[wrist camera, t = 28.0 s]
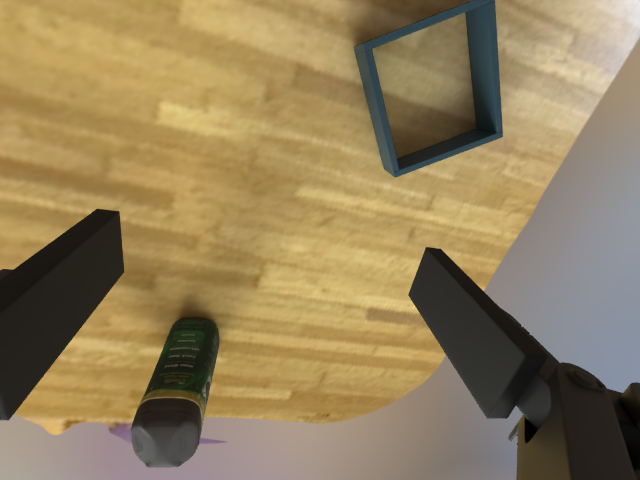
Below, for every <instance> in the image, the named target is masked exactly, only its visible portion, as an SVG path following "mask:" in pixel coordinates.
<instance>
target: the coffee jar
mask: <svg viewBox="0 0 640 480" xmlns="http://www.w3.org/2000/svg"><path fill="white" fill-rule="evenodd" d="M218 348H219V332H218V328H217V326H216V325H215V324H214V323H213V322H211V321H209V320H205V319H199V318H187V319H182V320H179V321H177V322H175V323H174V324H173V326H172V328H171V330H170V332H169V335H168V337H167V340H166V342H165V345H164V348H163V350H162V353H161V355H160V358H159V360H158V363H157V365H156V368H155V370H154V373H153V375H152V378H151V380H150V383H149V385H148V387H147V390H146V392H145V394H144V396H143V398H142V400H141V402H140V404H139V406H138V409H137V412H136V415H135V418H134V421H133V423H132V427H131V439H132V445H133V448H134V452H135V454H136V456H137V457H138V458H139V459H140V460H141V461H142V462H143V463H145V464H146V466H147V467H156V468H157V467H158V468H159V467H179V466H180V465H182V464H183V463H184V462H186V461H187V460H189V459H190V458H191V457H192V456H193V454H194V453H195V451H196V449H197V446H198V445H199V439H200V434H201V430H202V425H203V420H204V414H205V409H206V405H207V400H208V395H209V390H210V386H211V381H212V376H213V372H214V368H215V363H216V358H217V353H218Z"/></svg>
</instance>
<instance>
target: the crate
mask: <svg viewBox="0 0 640 480" xmlns="http://www.w3.org/2000/svg"><path fill="white" fill-rule="evenodd" d="M464 12H465V14H466V25H467V35H468V45H469V55H470V66H471V76H472V86H473V97H474V107H475V117H476V127H477V129H474V130H472V131H469V132H467V133H464V134H461V135H459V136H456V137H453V138H451V139H448V140H445V141H443V142H440V143H437V144H435V145H432V146H430V147H427V148H424V149H422V150H419V151H416V152H414V153H411V154H408V155H406V156H403V157H401V158H398V159H397V158H396V153H395V149H394V145H393V140H392V136H391V131H390V127H389V122H388V118H387V114H386V109H385V105H384V100H383V96H382V91H381V87H380V82H379V78H378V74H377V69H376V65H375V60H374V56H373V51H372V49H373V48H375V47H378V46H380V45H383V44H385V43H388V42H390V41H393V40H396V39H398V38H401V37H403V36H406V35H408V34H411V33H413V32H416V31H418V30H421V29H424V28H426V27H429V26H431V25H434V24H436V23H439V22H441V21H444V20H446V19H449V18H452V17H454V16H457V15H459V14H462V13H464ZM354 51H355V54H356V59H357V63H358V67H359V71H360V75H361V79H362V83H363V87H364V91H365V95H366V99H367V103H368V107H369V111H370V115H371V119H372V123H373V127H374V131H375V135H376V139H377V143H378V147H379V151H380V155H381V159H382V163H383V167H384V169H385V170H386V171H387V172H388V173H390V174H391V175H392V176H393V177H398V176H400V175H403V174H406V173H408V172H411V171H414V170H416V169H419V168H422V167H424V166H427V165H430V164H432V163H435V162H438V161H440V160H443V159H446V158H448V157H451V156H454V155H456V154H459V153H462V152H464V151H467V150H469V149H472V148H475V147H477V146H480V145H483V144H485V143H488V142H491V141H493V140H496V139H499V138H501V137H503V132H502V131H503V129H502V113H501V96H500V79H499V62H498V45H497V28H496V11H495V1H494V0H472V1H469V2H466V3H464V4H461V5H459V6H456V7H454V8H451V9H449V10H446V11H444V12H441V13H438V14H436V15H433V16H431V17H428V18H426V19H423V20H421V21H418V22H416V23H413V24H411V25H408V26H405V27H403V28H400V29H398V30H395V31H393V32H390V33H388V34H385V35H383V36H380V37H377V38H375V39H372V40H370V41H367V42H365V43H362V44H360V45H358V46H355V47H354Z"/></svg>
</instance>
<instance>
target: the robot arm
mask: <svg viewBox="0 0 640 480" xmlns="http://www.w3.org/2000/svg"><path fill="white" fill-rule="evenodd" d="M123 273H124V262H123V250H122V238H121V226H120V214H119V211H111V210H103V209H96V210H95V211H94V212H92V213H91V214H89V215H88V216H87V217H85V218H84V219H83V220H81V221H80V222H78V223H77V224H76V225H74V226H73V227H72V228H70V229H69V230H67V231H66V232H65V233H63V234H62V235H61V236H59V237H58V238H56V239H55V240H54V241H52V242H51V243H50V244H48V245H47V246H45V247H44V248H43V249H41V250H40V251H39V252H37V253H36V254H34V255H33V256H32V257H30V258H29V259H28V260H26V261H25V262H23V263H22V264H21V265H19V266H18V267H17V268H15V269H14V270H10V269H2V270H0V420H9V419H10V418H11V417H12V415H13V414H14V413H15V412H16V410H17V409H18V408H19V406H20V405H21V404H22V403H23V401H24V400H25V399H26V397H27V396H28V395H29V394H30V392H31V391H32V390H33V388H34V387H35V386H36V385H37V383H38V382H39V381H40V379H41V378H42V377H43V376H44V374H45V373H46V372H47V370H48V369H49V368H50V367H51V365H52V364H53V363H54V361H55V360H56V359H57V358H58V356H59V355H60V354H61V352H62V351H63V350H64V349H65V347H66V346H67V345H68V343H69V342H70V341H71V340H72V338H73V337H74V336H75V334H76V333H77V332H78V331H79V329H80V328H81V327H82V325H83V324H84V323H85V322H86V320H87V319H88V318H89V316H90V315H91V314H92V313H93V311H94V310H95V309H96V307H97V306H98V305H99V304H100V302H101V301H102V300H103V298H104V297H105V296H106V295H107V293H108V292H109V291H110V289H111V288H112V287H113V286H114V284H115V283H116V282H117V280H118V279H119V278H120V277H121V275H122V274H123ZM409 297H410V298H411V300H412V302H413V303H414V305H415V306H416V308H417V309H418V311H419V313H420V314H421V316H422V317H423V319H424V320H425V322H426V324H427V325H428V327H429V328H430V330H431V331H432V333H433V335H434V336H435V338H436V339H437V341H438V342H439V344H440V345H441V347H442V349H443V350H444V352H445V353H446V355H447V356H448V358H449V359H450V361H451V363H452V364H453V366H454V367H455V369H456V370H457V372H458V374H459V375H460V377H461V378H462V380H463V382H464V383H465V385H466V386H467V388H468V389H469V391H470V392H471V394H472V396H473V397H474V399H475V400H476V402H477V404H478V405H479V407H480V408H481V410H482V411H483V413H484V414H485V416H486V418H508V416H509V414H510V413H511V412H512V410H513V409H514V407H515V406H517V407H518V408H519V410H520V411H521V412H522V413H523V416H522V417H521V419H520V420H519V421H518V423H517V425H516V426H515V427H514V429H513V430H512V432H511V433H510V435H509V437H508V439H509V440H511V441H512V440H513V438H514V437H515V436H518V443H517V445H518V449H517V480H640V383H631V384H630V385H629V387H628V388H627V389H626V390H625V391H624V393H620V392H617V391H613V390H610V389H607V388H606V387H605V385H604V384H603V383H602V382H601V381H600V380H599V379H597V378H596V377H595V376H594V375H592V374H591V373H589V372H588V371H586V370H584V369H582V368H580V367H578V366H576V365H573V364H570V363H559V362H558V361H557V360H556V359H555V358H554V357H553V356H552V355H551V354H550V353H549V352H548V351H547V350H546V349H545V348H544V347H543V346H542V345H541V344H540V343H539V342H538V341H537V340H536V339H535V338H534V337H533V336H532V335H530V334H529V332H528V331H527V330H526V329H524V327H521V324H520V323H519V322H517V320H516V319H514V318H513V317H512V316H511V315H510V314H508V313H507V312H505V311H504V310H502V309H501V308H500V307H499V306H498V305H497V304H495V303H494V302H493V301H492V299H490V297H489V296H488V295H487V294H485V293H484V291H483V290H482V289H481V288H480V287H478V286H477V285H476V284H475V283H474V282H473V281H472V280H471V279H470V278H469V277H468V276H467V275H466V274H465V273H464V272H463V271H462V270H461V269H460V268H459V267H458V266H457V265H456V264H455V263H454V262H453V261H452V260H451V259H450V258H449V257H448V256H447V255H446V254H445V253H444V252H443V251H442V250H441V249H437V248H429V247H426V249H425V252H424V254H423V257H422V260H421V262H420V265H419V268H418V270H417V273H416V276H415V279H414V281H413V284H412V287H411V289H410V292H409Z"/></svg>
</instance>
